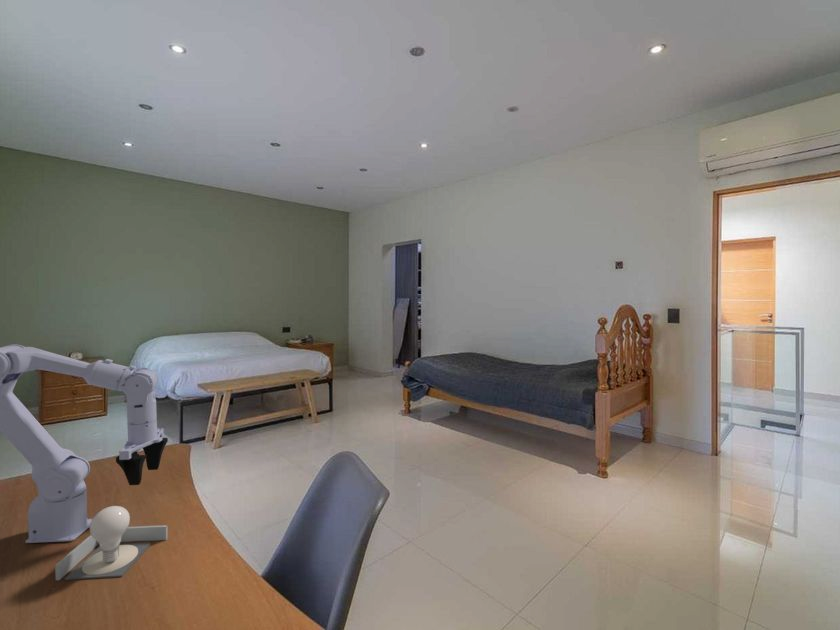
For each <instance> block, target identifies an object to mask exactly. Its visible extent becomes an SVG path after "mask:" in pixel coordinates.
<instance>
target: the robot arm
mask: <svg viewBox="0 0 840 630" xmlns="http://www.w3.org/2000/svg"><path fill="white" fill-rule="evenodd" d="M113 362H114V360H113V359H110V358H106V359H105V360H101V359H98V360H96V361H94V362H92V363H90V362H88V361H83V360H80V359H75V358H72V357H68V356H66V355H61V354H58V353H54V352H51V351H47V350H44V349H40V348H36V347H34V346H24V345H21V344H17V343H15V344H14V343H13V344H6V345H4V346H1V347H0V432H1V433H2V435H4V436H5V437H6V439H7V440H8V441H9V442H10V443H11V444H12V445H13V447H14V448H15V449H16V450H17V451H18V452H19V453H20V454H21V455H22V456H23V458H25V460H26V461H27V462H28V463H29V464H30V465H31V466H32V467H31V468H32V470H31V479H32V481H33V482H34V484H35V485H36V488H37V494H38V495H37V496H36V497H34V499H33V500H32V501H31V502H30V505H29V508H28V512H27V524H28V525H27V526H28V528H27V529H28V530H27V531H28V538H27V539H26V540H25V544H36V543H37V544H38V543H55V542H56V543H59V542H72V541H74V540H76V539H77V538H79V536H81V535H82V534H83V533H84V532H85V531H87V530H88V529H90V524H91V521H92V519H93V518H88V494H87V493H88V491H87V485H86V483H85V478H87V476H88V475H89V473H90V471H91V466H90V463H89V461H88V460H87V459H86V458H84V457H81V456H79V455H77V454H75V453H74V452H73V451H72V450H71V449H68V448H67V449H66V448H64V447H61V446H60V445H59V444H58V443H57V441H56V440H55V439H54V438H53V437H52V436H51V435H50V433H48V431H47V430H46V429H45V428H44V426H43V425H41V423H40V422H39V421H38V420H37V419H36V418H35V417H34V415H33V414H32V413H31V412H30V410H28V408H27V407H26V406H25V405H24V403H22V402H21V400H20V399H19V398H18V397H17V396H16V395H15V393H14V392H13V391H14V389H15V386H16V384H17V382H18V379H19V377H21V376H22V375H23V374H24V373H27V372H31V371H37V370H41V371H47V372H51V373H52V372H53V373H57V374H63V375H68V376H74V377H80V378H83V379H84V381H85V383H86V384H87V385H89V386H93V387H99V388H102V389H108V390H112V391H116V392H122V393H123V394H124V395H125V396H126V418H127V421H126V422H127V441H126V442H125V444H124V446H123V447H122V449H121V450H119V451H118V456H116V457H115V463H117V465H118V466H119V467H120V468H121V469H122V471H123V473H124V475H125V478H126V480H127V483H128V485H129V486H139V485H141V482H142V476H143V467H144V464H145V463H146V467H147V470H148V471H157V470H159V468H160V464H161V463H160V462H161V459H162V454H163V452H164V450H165V447H166V445H167V444H168V442H169V440H168V439H169V438H168V437H164V435H165V433H164V432H165V431H164V429H165V428H158V418H157V417H158V415H157V398H156V389H155V387H156V386H157V384H158V380H159V378H158V375H157V373H156V372H155V371H153V369H152V370H151V369H148V368H147V367H140V368H137V366H135V365H130V366H127V365H122V364H119V363H115V362H114V363H113ZM141 450H143V454H140V453H139V451H141Z"/></svg>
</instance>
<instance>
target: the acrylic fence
mask: <svg viewBox="0 0 840 630" xmlns="http://www.w3.org/2000/svg"><path fill="white" fill-rule="evenodd" d="M168 526H169V525H164V524H163V525H141V526H137V525H136V526H128V528H127V529H126V531H125V532H124V534H123V535H122V538H121V542H120V543H126V542H127V543H129V542H130V543H133V542H149V541H150V542H151V541H152V542H153V541H167V540H168V539H169V538H168V537H169V535H168V532H169V531H168V530H169V527H168ZM99 545H100V544H99V542H98V541H96V540H95V539H94V538H93V537H92V536H91V534H90V535H89V536H88V537H87V538H86V539H84V540H82V542H80V543H79V544H78V545H76V546H75V548H73V549H72V550H71V551H70V552H69V553H67V555H65V556H64V557H63V558H62V559H61V560H59V561H58V562H57V563H56V564H55V566H54V568H55V569H54V571H55V581H60V580H62V579H63V578H64V577H65V576H66V574H68V573H69V572H70V571H72V569H74V568H75V567H76V565H79V564H78V563H80V562H82V560H83V559H84V558H85V557H87V556H88V555H90V553H91V552H92V551H94V550H95V549H96V547H98V546H99Z"/></svg>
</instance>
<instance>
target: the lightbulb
mask: <svg viewBox="0 0 840 630" xmlns="http://www.w3.org/2000/svg"><path fill="white" fill-rule="evenodd" d="M130 515H131V514H130V513H129V511H128V510H127V509H126V508H125V507H123V506H120V505H111V506H108V507H105V508H103V509H101V510H100V511H98V512H97V513H96V514H95V515H94V517H93V518H91V519H92V521H91V524H90V527H89V533H90V535H91V536H92V537H93V538H94V539H95V540H96V541H98V542H99V544H98V545H99V547H101V549H102V553H103V554H102V555H103V556H102V557H103V558H102V559H103V560H102V561H103V562H112V561H114V560H115V559H117V558H118V557H119V544H121V543H122V542H121V538H122V535H123V534H124V532H125V531H126V529H127V528H128V527H130V522H131V516H130Z"/></svg>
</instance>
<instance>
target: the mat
mask: <svg viewBox="0 0 840 630" xmlns="http://www.w3.org/2000/svg"><path fill="white" fill-rule="evenodd" d="M151 545H152V542H135V543H133V542H131V543H120V544H119V557H118V558H117V559H115V560H114V561H112V562H103V561H102V560H103V559H102V558H103V557H102V556H103V555H102V554H103V553H102V549H101V547H100V546H97V548H95V549H94V550H93V552H92V553H91V554H89V555H88V557H86V559H84V560H83V561H81V563H80V564H78V566H77V567H76V568H74V569H73V570H71V572H70V573H69V574H68V575H67V576H66V577H64V580H65V581H71V580H72V581H73V580H87V579H88V580H89V579H90V580H91V579H105V578H106V579H107V578H123V576H124V575H125V574H126V573H127V572H128V571H129V570H130V569H131V567H132V566H133V565H134V564H135V563H136V562H137V561H138V559H139V558H140V557H141V556H142V555H143V554H144V553H145V552H146V550H147V549H148V548H149V547H150V546H151Z"/></svg>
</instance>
